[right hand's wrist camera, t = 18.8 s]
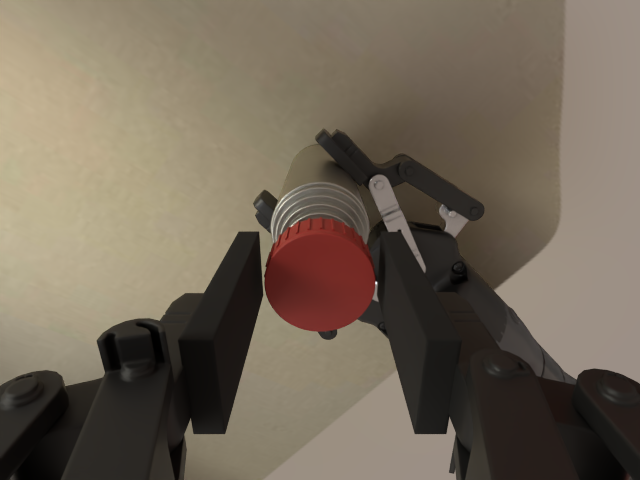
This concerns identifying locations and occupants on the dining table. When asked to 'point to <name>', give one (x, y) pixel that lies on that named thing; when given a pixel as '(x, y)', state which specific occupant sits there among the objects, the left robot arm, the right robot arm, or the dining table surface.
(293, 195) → the bottle
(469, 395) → the right robot arm
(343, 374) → the dining table surface
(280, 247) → the cap
